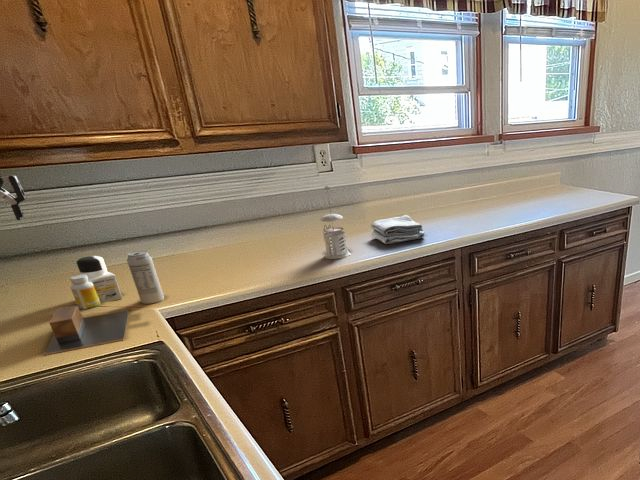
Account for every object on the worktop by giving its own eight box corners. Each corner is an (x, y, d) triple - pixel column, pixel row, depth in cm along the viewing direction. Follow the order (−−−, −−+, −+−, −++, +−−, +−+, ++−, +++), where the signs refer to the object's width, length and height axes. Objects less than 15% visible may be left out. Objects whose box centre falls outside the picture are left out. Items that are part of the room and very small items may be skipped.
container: (94, 306, 152) (77, 262, 146) (85, 300, 156) (69, 258, 150) (123, 298, 157) (108, 256, 151) (114, 293, 162) (99, 252, 156)
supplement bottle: (76, 312, 148) (62, 280, 143) (85, 305, 152) (72, 274, 148) (96, 310, 148) (83, 279, 144) (105, 303, 153) (92, 272, 149)
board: (45, 358, 121) (43, 355, 121) (61, 324, 140) (59, 321, 140) (124, 343, 128) (123, 339, 127) (129, 312, 147) (128, 309, 146)
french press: (354, 251, 198) (345, 183, 187) (342, 260, 188) (331, 189, 177) (330, 251, 200) (320, 183, 188) (317, 259, 190) (305, 189, 178)
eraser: (58, 343, 127) (49, 322, 124) (64, 328, 135) (56, 308, 133) (80, 339, 129) (71, 319, 126) (85, 324, 137) (77, 305, 135)
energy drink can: (168, 298, 156) (152, 249, 149) (160, 305, 151) (144, 255, 144) (147, 300, 155) (130, 251, 149) (138, 307, 150) (120, 256, 143)
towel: (371, 238, 216) (368, 219, 213) (410, 232, 225) (409, 213, 221) (385, 246, 205) (383, 226, 201) (426, 238, 213) (425, 219, 210)
